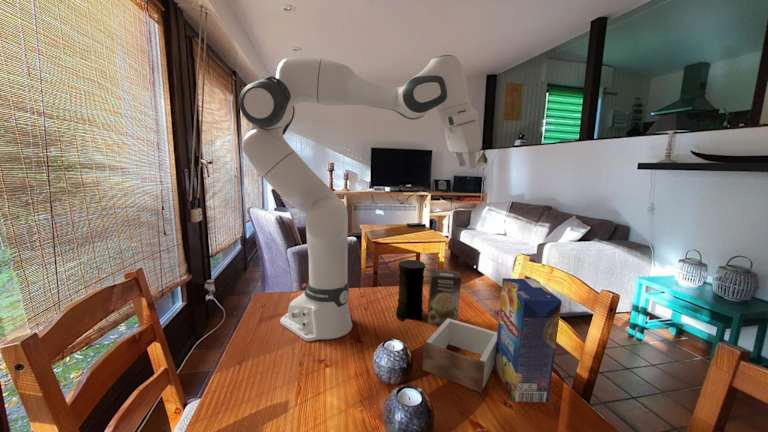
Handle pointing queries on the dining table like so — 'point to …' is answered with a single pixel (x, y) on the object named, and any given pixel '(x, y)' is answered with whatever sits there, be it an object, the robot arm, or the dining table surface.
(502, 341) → the juice carton
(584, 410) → the dining table surface
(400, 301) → the container
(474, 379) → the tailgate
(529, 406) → the dining table surface
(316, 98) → the robot arm
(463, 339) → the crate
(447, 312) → the coffee box
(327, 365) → the dining table surface
